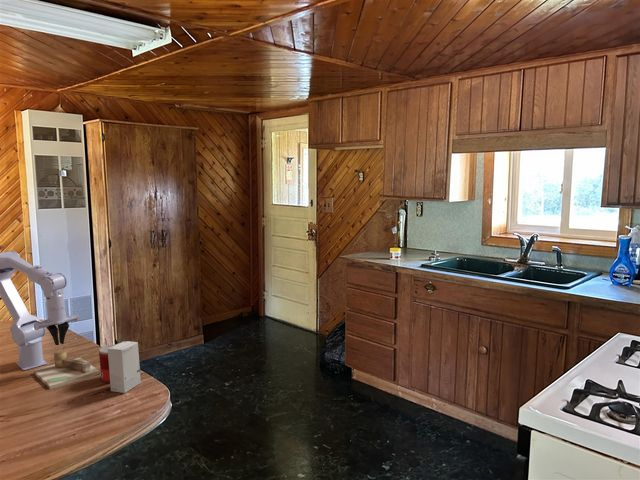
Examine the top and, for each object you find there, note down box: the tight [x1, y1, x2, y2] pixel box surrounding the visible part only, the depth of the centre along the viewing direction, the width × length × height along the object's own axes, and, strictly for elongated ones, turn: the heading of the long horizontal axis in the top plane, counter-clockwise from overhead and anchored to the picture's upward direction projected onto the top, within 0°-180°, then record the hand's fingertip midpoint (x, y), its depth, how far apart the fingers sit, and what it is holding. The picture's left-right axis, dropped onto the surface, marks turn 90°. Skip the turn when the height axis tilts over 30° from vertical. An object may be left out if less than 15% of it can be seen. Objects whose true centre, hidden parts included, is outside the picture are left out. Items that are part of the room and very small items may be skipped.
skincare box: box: [108, 340, 142, 394], centre depth 155 cm, size 8×6×15 cm
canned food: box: [98, 343, 117, 384], centre depth 162 cm, size 8×8×11 cm
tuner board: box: [33, 356, 101, 390], centre depth 167 cm, size 18×16×1 cm
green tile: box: [50, 376, 67, 382], centre depth 160 cm, size 5×3×1 cm, turn 114°
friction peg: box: [53, 349, 91, 372], centre depth 168 cm, size 15×4×5 cm, turn 68°
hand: (59, 343), depth 169 cm, fingers closed
